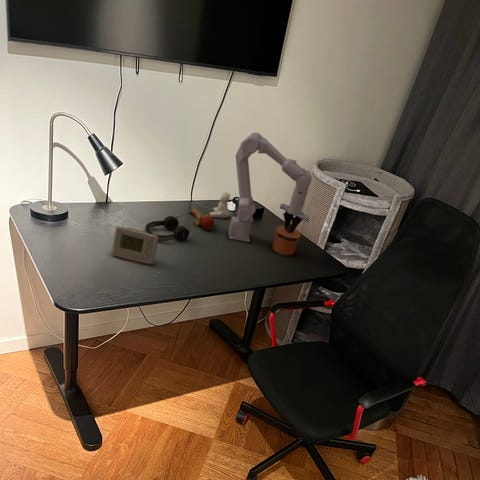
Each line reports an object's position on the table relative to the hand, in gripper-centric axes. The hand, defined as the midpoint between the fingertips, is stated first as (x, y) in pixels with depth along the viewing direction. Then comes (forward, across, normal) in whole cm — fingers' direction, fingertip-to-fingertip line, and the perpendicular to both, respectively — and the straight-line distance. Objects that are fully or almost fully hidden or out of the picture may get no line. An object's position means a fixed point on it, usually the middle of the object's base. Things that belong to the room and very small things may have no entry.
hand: (289, 230), depth 205 cm
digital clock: (+10, -21, -65) cm, 69 cm away
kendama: (+10, -35, -18) cm, 41 cm away
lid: (+1, 0, 0) cm, 1 cm away
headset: (+10, -32, -40) cm, 52 cm away
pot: (+10, 0, 0) cm, 10 cm away
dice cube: (+10, 0, 0) cm, 10 cm away
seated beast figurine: (+10, -38, -3) cm, 40 cm away
